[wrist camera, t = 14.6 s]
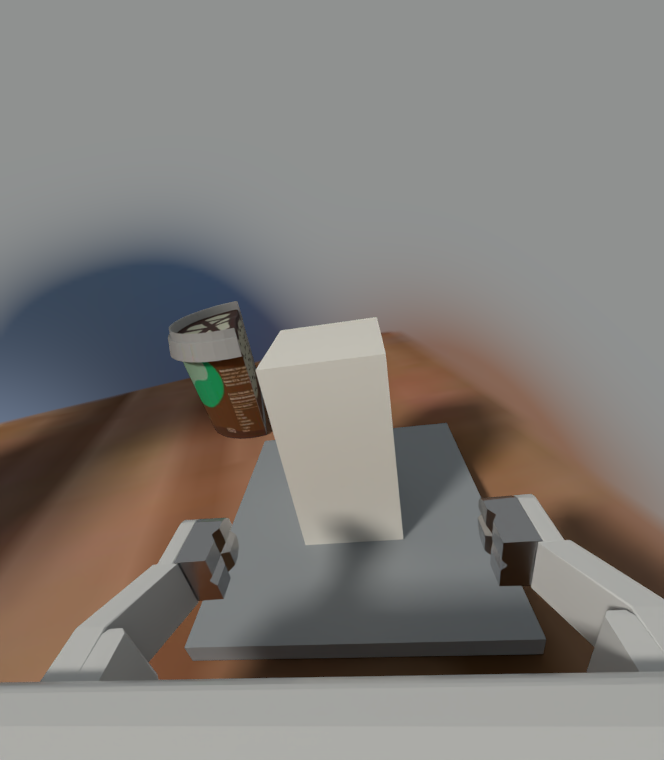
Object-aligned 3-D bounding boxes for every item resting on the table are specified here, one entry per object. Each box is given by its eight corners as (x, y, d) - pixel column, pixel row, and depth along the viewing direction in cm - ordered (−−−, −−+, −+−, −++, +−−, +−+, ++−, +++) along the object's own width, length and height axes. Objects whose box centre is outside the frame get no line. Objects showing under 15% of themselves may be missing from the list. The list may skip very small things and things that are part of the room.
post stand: (192, 660, 14) (108, 529, 11) (268, 451, 27) (240, 360, 23) (543, 654, 12) (577, 496, 9) (446, 433, 25) (445, 333, 21)
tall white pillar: (305, 545, 17) (255, 370, 13) (315, 476, 21) (280, 330, 17) (403, 539, 16) (385, 353, 12) (392, 470, 21) (376, 317, 17)
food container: (208, 398, 38) (176, 312, 33) (261, 385, 38) (237, 299, 34) (192, 464, 27) (142, 349, 22) (268, 444, 27) (233, 329, 23)
